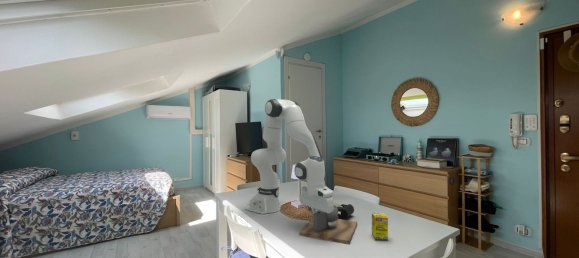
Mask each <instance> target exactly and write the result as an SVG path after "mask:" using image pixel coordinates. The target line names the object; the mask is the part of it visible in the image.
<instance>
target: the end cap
mask: <svg viewBox="0 0 579 258" xmlns="http://www.w3.org/2000/svg"><path fill="white" fill-rule="evenodd" d="M336 208H337V209H338V219H342V220H347V218H349V217H350V216H351V215H353V214H354V212H355V207H354V205H352V204H351V203H348V204H345V203H344V204H343V203H342V204H341V205H340V206H337V207H336ZM339 212H340V213H339Z"/></svg>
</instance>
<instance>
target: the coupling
mask: <svg viewBox="0 0 579 258" xmlns="http://www.w3.org/2000/svg"><path fill="white" fill-rule="evenodd" d="M338 213H339V212H338V209H337V207H336V206H334V211H333V212H331V213H326V212H323V211H320V212H317V213H314V214H313V213H312V214H313V215H312V216H313V217H312V218H313V230H314V231H317V232H318V231H320V230H322V229H325V228H327V221H330V222H332V221H337V220H338Z"/></svg>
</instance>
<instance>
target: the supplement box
mask: <svg viewBox="0 0 579 258" xmlns="http://www.w3.org/2000/svg"><path fill="white" fill-rule="evenodd" d="M371 236H372V237H373V239H374V241H386V242H387V241H389V217H388V216H387V215H386V213H384V212H383V213H382V212H381V213H379V212H378V213H377V212H372V213H371Z"/></svg>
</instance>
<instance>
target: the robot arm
mask: <svg viewBox="0 0 579 258" xmlns="http://www.w3.org/2000/svg"><path fill="white" fill-rule="evenodd" d="M264 112H265V114H266V115H265V118H264V123H263V131H262V139H263V140H264V142H266V144H267V148H259V149H256V150H254V151H253V152H252V153H251V156H250V162H251V164H252V165H253V166H255V168H257V170H258V173H259V178H260V179H259V180H260V187H257V189H256V191H257V193H256V194H255V195H254V196H252V197H251V198H250V200H249V204H248V205H246V206H245V211H249V212H252V213H257V214H259V215H260V214H261V215H265V214H273V213H277V212H280V211H281V210H282V208H281V205H280V197H279V195H280V190H279V189H280V188H279V175H278V173H277V172H275V170H274V169H273V166H275V165H279V164H281V163H284V162H285V161H286V159H287V153H286V150H285V149H284V148H283V146H282V143H281V142H282V141H281V136H282V135H281V133H282V125H283V120H284V123H285V130H286V133H287V135H288V137H290V138H291V139H292V140H293V141H297V142H299V143H302V144H303V145H304V146H306V148H307V150H308V152H309V157H307V158H306V159H305V160H303V161H297V163H296V164H295V166H294V171H293V172H294V176H295V177H296V178H297V179H298V180H300V181H305V180H306V181H307V182H306V185H303V186H302V187H301V191H300V196H299V202H300V204H301V205H304V206H307V207H309V208H311V211H312V214H314V213H317V212H320V211H323V212H326V213H331V212H333V211H334V207H335V201H334V197H333V196H334V190H332V189H330V188H329V187H328V186H327V185H326V182H325V175H326V174H327V170H328V168H327V164H326V162H325V160H324V159H323V156H322V154H321V152H320V149H319V145H318V143H317V141H316V139H315V136H314V134H313V132H311V131H310V129H308V126H307V124H306V120H305V117H304V114H303V111H302V109H301V106H300V104H299V103H298V102H297V101H295V100H289V99H285V98H283V99H278V98H277V99H276V98H272V99H268V100H267V101H266V103H265V106H264Z"/></svg>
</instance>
